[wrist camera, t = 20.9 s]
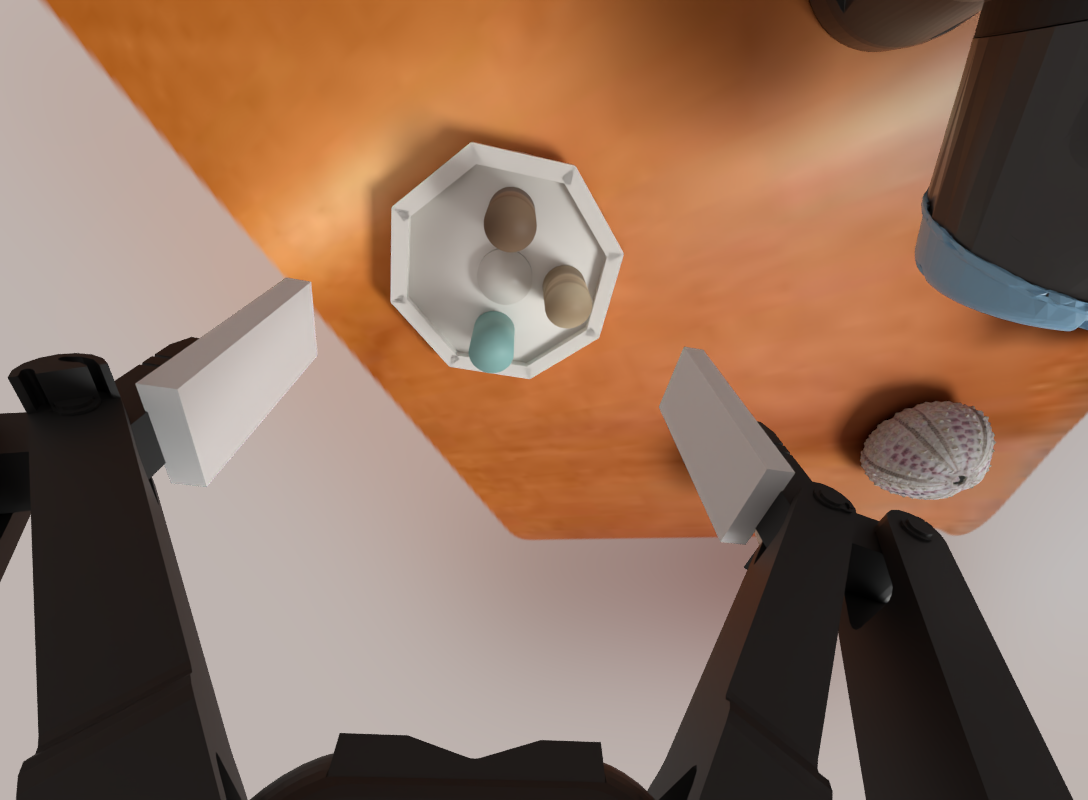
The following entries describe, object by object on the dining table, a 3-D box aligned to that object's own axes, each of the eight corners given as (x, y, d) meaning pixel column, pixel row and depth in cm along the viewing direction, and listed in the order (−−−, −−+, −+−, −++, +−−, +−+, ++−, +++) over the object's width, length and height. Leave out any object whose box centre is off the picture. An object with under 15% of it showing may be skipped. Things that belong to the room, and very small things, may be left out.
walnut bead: (491, 182, 36) (486, 191, 32) (539, 191, 36) (541, 202, 32) (485, 232, 38) (480, 247, 34) (530, 240, 38) (531, 256, 34)
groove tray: (398, 123, 34) (392, 124, 33) (640, 178, 37) (645, 181, 35) (394, 349, 45) (389, 357, 43) (582, 378, 48) (584, 387, 46)
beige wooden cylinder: (547, 261, 40) (550, 279, 35) (589, 269, 40) (597, 288, 36) (538, 302, 42) (540, 324, 37) (579, 310, 42) (585, 332, 38)
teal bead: (476, 307, 42) (471, 329, 38) (517, 314, 42) (517, 337, 38) (471, 344, 44) (466, 369, 40) (511, 351, 44) (509, 376, 40)
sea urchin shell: (956, 458, 57) (1014, 505, 50) (847, 486, 59) (889, 534, 52) (976, 376, 50) (1047, 417, 43) (851, 411, 52) (900, 456, 45)
